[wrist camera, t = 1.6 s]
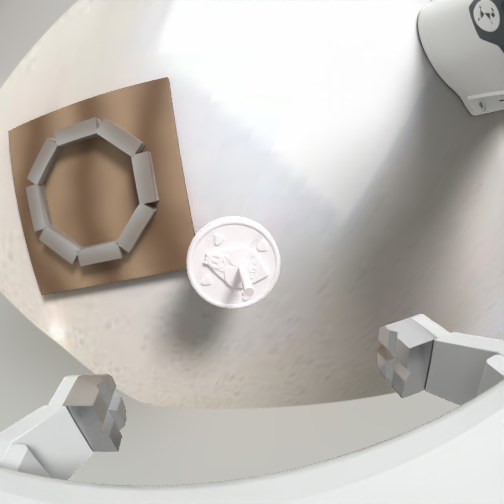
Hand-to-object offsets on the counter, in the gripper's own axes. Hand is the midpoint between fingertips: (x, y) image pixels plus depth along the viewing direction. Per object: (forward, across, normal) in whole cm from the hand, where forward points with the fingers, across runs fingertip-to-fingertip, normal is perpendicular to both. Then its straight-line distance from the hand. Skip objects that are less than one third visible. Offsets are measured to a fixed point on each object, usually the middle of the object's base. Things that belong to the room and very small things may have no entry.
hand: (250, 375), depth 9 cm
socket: (+22, +12, -6) cm, 26 cm away
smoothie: (+23, -1, 0) cm, 23 cm away
